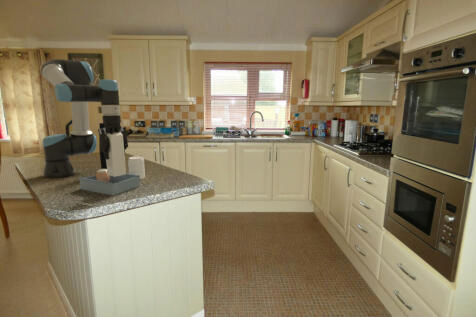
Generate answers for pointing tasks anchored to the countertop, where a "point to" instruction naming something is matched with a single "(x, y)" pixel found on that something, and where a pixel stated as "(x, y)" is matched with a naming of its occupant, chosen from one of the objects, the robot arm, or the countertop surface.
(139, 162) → the beverage can
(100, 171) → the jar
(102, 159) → the wine bottle
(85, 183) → the tote
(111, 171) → the milk
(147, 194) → the countertop surface
